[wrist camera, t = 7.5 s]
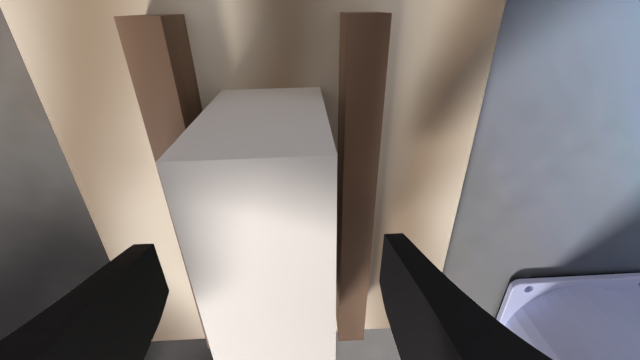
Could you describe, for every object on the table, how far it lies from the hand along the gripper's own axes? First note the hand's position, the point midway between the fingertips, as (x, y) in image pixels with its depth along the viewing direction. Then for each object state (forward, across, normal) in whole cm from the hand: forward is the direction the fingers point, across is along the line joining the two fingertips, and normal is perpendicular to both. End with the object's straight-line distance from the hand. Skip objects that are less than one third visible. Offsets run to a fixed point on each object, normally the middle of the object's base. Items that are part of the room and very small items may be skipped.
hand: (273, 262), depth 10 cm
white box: (+4, 0, 0) cm, 4 cm away
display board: (+5, 0, 0) cm, 5 cm away
